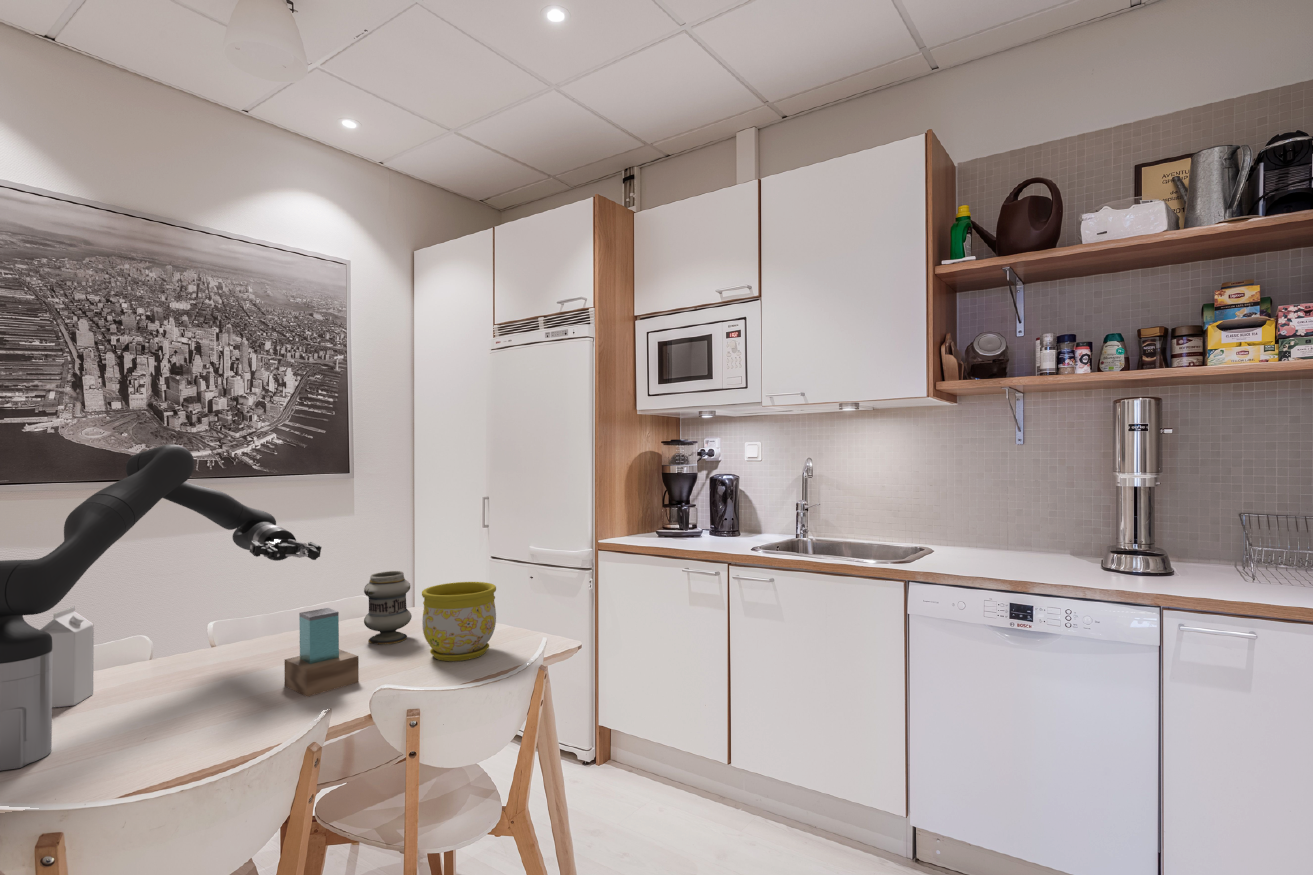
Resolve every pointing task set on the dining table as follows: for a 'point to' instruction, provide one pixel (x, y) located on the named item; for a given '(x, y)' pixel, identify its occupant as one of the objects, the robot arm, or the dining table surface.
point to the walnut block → (321, 674)
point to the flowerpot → (459, 619)
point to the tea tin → (319, 635)
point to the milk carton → (71, 657)
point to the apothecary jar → (387, 606)
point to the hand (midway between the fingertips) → (296, 555)
